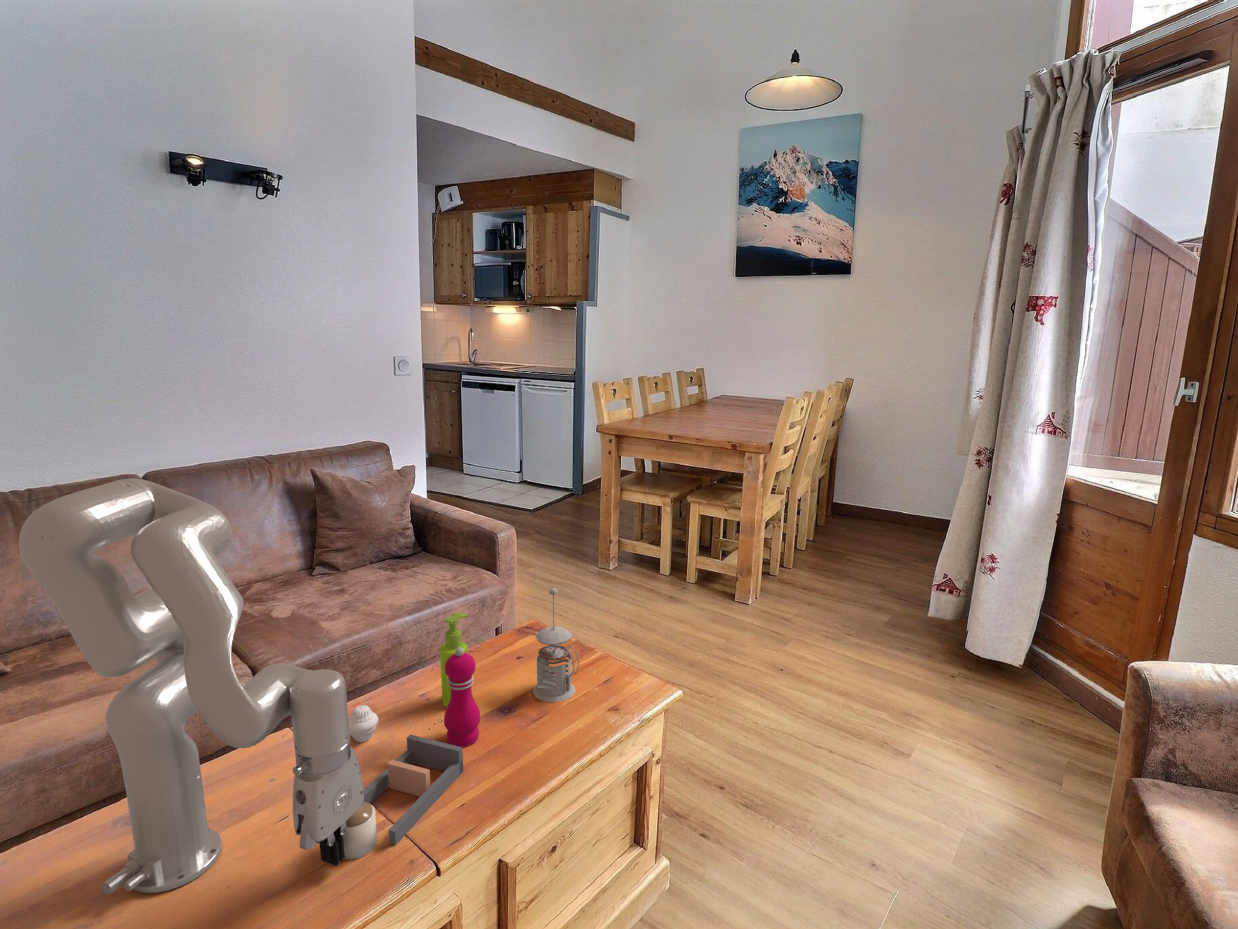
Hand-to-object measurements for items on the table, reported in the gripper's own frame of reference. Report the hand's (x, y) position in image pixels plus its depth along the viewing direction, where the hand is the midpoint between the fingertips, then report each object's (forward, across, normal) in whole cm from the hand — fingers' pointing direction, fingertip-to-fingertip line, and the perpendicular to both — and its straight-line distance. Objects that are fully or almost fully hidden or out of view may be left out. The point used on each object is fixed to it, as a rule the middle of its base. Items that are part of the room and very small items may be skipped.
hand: (333, 859), depth 106 cm
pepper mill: (+2, +37, +1) cm, 37 cm away
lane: (+2, +18, 0) cm, 18 cm away
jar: (+2, +6, 0) cm, 6 cm away
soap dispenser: (+2, +48, +10) cm, 50 cm away
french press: (+2, +60, -9) cm, 61 cm away
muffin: (+2, +29, +20) cm, 35 cm away
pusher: (+2, +19, 0) cm, 19 cm away
